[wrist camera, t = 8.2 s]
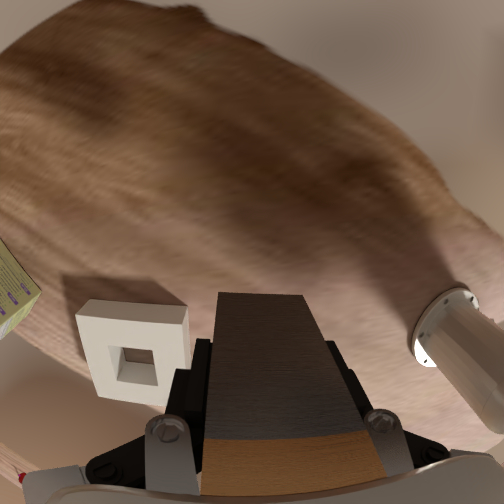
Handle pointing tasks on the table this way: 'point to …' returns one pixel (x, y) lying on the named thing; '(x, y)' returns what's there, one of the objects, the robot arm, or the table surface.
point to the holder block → (134, 336)
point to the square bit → (279, 405)
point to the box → (14, 292)
